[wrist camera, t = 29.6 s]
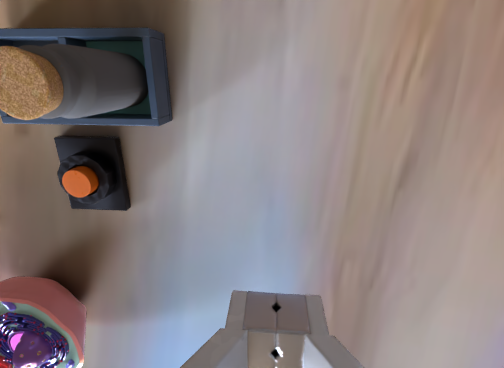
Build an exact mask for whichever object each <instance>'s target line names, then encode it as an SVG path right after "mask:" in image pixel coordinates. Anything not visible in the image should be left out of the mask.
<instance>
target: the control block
mask: <svg viewBox="0 0 504 368" xmlns="http://www.w3.org/2000/svg"><path fill="white" fill-rule="evenodd" d="M54 140H55V144H56V148H57V152H58V156H59V160H60V167H59V170H58V173H57V174H58V178H59V182H60V186H61V187H62V188H63V189H64V191H65V192H66V193H67V194H68V196H69V200H70V204H71V208H72V209H97V210H123V211H127V210H128V209H129V208H130V207H131V206H130V200H129V194H128V188H127V182H126V176H125V170H124V164H123V158H122V152H121V146H120V139H119V137H93V136H58V137H55V138H54ZM78 166H86V167H88V168H90V169H92V170H93V171H94V172H95V173H96V175H97V177H98V180H99V185H98V187H97V189H96V190H95V191H93V192H92V193H90V194H89V195H87V196H85V197H75V196H73V195H71V194H69V193H68V192H67V191H66V190H65V188H64V186H63V183H62V178H63V175H64V174H65V173H66V172H67V171H69V170H71V169H73V168H75V167H78Z"/></svg>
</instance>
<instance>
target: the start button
mask: <svg viewBox="0 0 504 368" xmlns="http://www.w3.org/2000/svg"><path fill="white" fill-rule="evenodd" d="M62 183H63V186H64V188H65V190H66V191H67V192H68V193H69V194H71V195H73V196H75V197H85V196H87V195H89V194H90V193H92V192H93V191H95V190H96V189H97V187H98V185H99V180H98V177H97V175H96V173H95V172H94V171H93V170H92V169H90V168H88V167H86V166H78V167H75V168H73V169H71V170H69V171H67V172H66V173H65V174H64V175H63V178H62Z"/></svg>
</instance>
